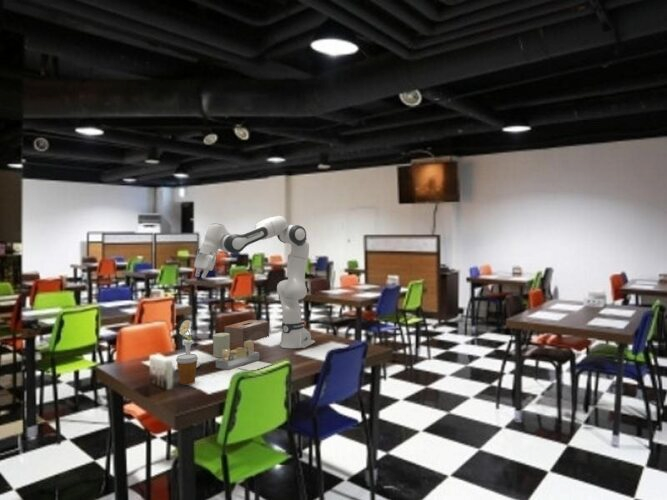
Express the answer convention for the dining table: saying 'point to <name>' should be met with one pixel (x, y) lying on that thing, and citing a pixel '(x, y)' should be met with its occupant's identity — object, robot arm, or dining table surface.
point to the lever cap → (239, 352)
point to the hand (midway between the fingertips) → (199, 277)
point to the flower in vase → (187, 343)
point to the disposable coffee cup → (187, 368)
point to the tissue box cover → (247, 331)
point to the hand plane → (232, 362)
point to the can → (220, 343)
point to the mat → (254, 366)
